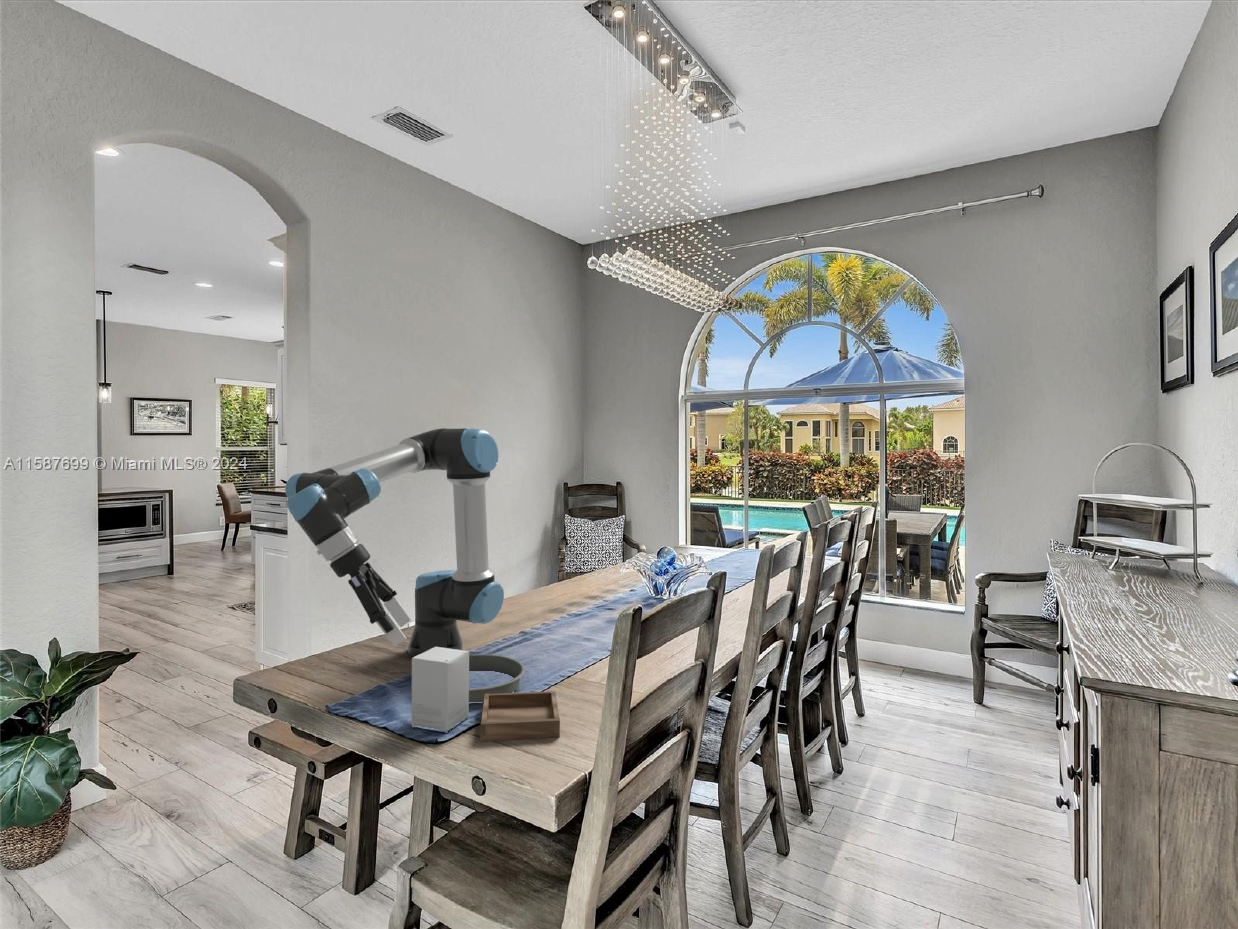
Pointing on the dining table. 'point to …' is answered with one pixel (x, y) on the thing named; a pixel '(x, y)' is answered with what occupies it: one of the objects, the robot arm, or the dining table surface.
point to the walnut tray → (520, 716)
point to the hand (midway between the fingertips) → (403, 632)
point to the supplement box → (440, 688)
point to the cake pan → (497, 665)
